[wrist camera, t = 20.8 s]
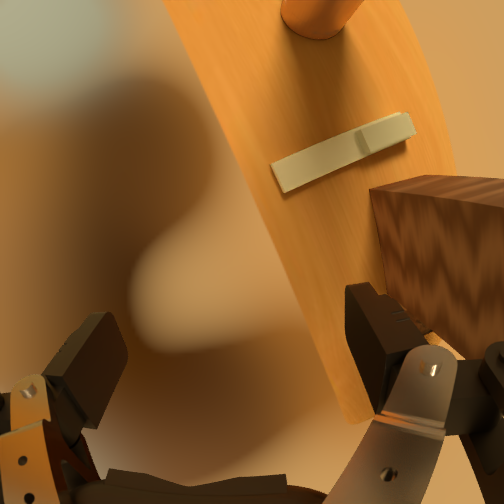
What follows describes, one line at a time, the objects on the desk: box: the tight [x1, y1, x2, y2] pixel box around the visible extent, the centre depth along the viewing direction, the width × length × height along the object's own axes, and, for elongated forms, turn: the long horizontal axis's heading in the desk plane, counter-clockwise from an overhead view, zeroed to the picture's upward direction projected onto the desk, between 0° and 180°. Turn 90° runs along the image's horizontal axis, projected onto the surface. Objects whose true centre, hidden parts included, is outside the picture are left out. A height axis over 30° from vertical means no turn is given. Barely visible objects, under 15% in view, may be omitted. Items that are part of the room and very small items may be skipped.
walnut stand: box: [369, 175, 504, 360], centre depth 26 cm, size 17×11×32 cm, turn 16°
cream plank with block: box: [270, 112, 417, 193], centre depth 37 cm, size 4×20×4 cm, turn 116°
